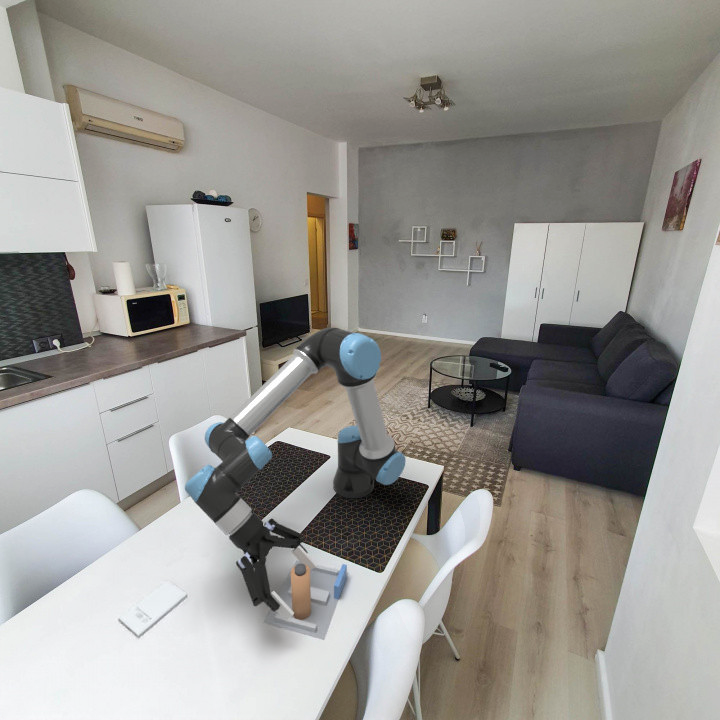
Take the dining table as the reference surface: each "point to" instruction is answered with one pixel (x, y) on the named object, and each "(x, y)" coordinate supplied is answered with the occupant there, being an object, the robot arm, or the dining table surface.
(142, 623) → the external hard drive
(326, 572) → the gray ribbed plate
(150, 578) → the dining table surface
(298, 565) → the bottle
